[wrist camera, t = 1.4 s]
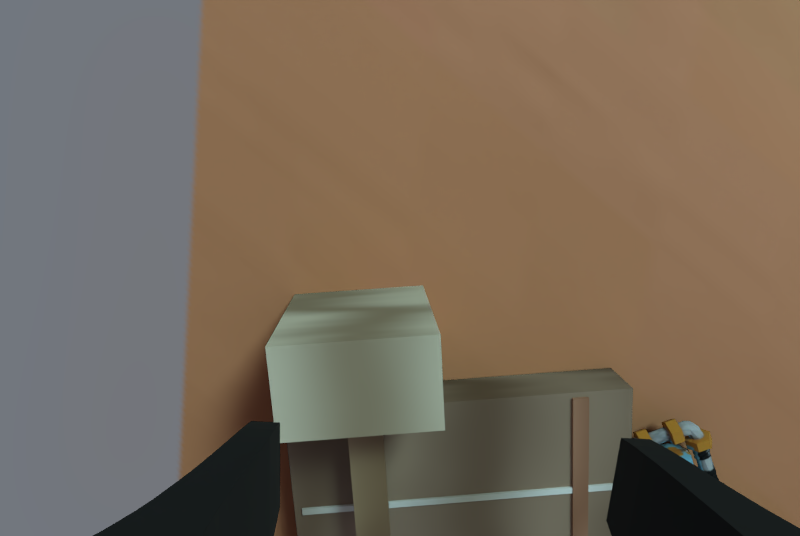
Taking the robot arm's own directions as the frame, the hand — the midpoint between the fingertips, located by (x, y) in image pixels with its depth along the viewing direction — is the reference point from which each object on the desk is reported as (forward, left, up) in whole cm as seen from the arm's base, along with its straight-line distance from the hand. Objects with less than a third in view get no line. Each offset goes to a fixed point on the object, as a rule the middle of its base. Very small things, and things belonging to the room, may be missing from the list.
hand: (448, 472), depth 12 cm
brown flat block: (+1, -7, -11) cm, 13 cm away
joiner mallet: (-2, -3, -11) cm, 11 cm away
